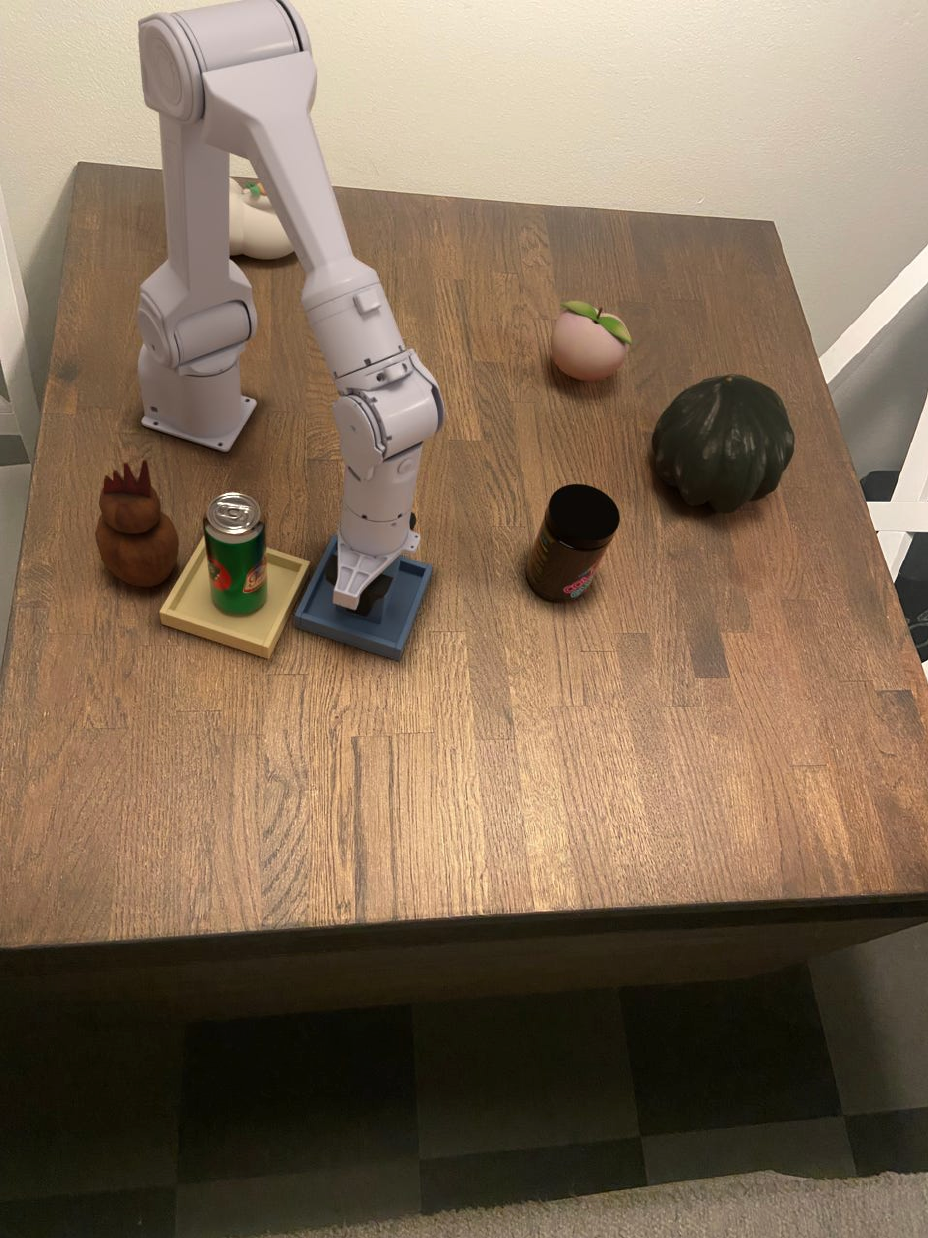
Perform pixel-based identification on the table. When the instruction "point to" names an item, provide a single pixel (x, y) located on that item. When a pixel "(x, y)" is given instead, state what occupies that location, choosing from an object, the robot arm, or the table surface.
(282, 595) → the cream tray
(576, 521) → the supplement container
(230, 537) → the soda can
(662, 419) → the squash
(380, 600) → the blue block
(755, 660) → the table surface
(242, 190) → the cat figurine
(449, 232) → the table surface
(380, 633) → the blue tray
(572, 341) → the decorative fruit
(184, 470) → the table surface
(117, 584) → the table surface
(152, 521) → the wooden figurine
